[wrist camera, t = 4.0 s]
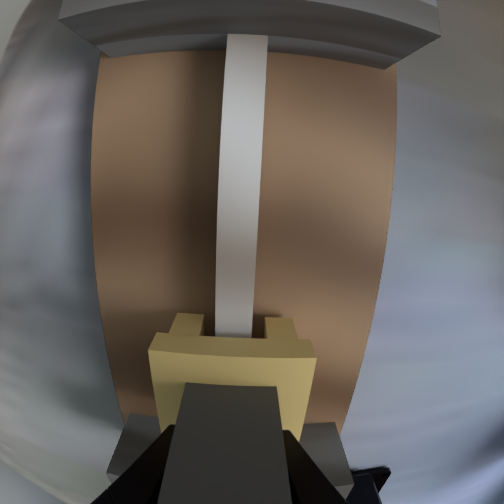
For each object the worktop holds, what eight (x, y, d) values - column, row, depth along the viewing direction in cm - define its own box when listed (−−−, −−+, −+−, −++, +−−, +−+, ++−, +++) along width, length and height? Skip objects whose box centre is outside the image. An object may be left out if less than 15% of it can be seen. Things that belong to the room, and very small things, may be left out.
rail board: (325, 442, 16) (344, 516, 11) (139, 434, 15) (115, 506, 10) (375, -11, 10) (428, -72, 4) (131, -22, 9) (86, -87, 4)
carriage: (288, 414, 13) (311, 567, 5) (176, 409, 13) (141, 559, 5) (302, 317, 11) (363, 499, 4) (167, 311, 11) (87, 484, 4)
